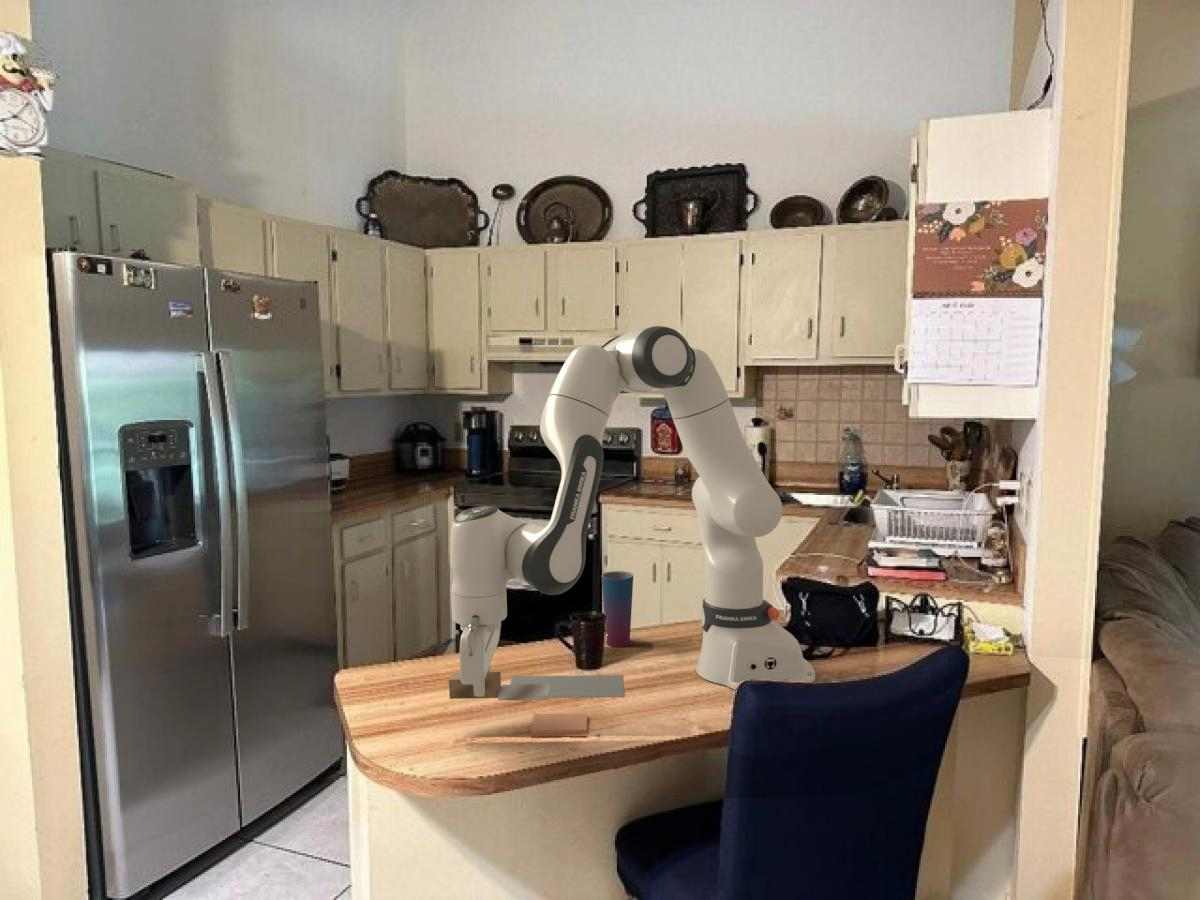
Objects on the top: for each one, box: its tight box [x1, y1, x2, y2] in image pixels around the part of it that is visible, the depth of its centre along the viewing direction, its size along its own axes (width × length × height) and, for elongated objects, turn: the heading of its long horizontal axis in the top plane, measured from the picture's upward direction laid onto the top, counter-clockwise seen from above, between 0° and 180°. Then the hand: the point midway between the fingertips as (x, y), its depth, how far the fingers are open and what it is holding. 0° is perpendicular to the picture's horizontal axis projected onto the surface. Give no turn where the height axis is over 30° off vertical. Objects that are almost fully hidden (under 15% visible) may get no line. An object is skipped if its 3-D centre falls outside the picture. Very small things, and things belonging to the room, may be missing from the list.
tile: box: [530, 712, 588, 739], centre depth 134 cm, size 2×6×9 cm
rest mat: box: [509, 674, 625, 699], centre depth 150 cm, size 21×10×1 cm, turn 90°
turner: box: [448, 671, 550, 702], centre depth 133 cm, size 16×5×3 cm, turn 90°
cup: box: [601, 570, 634, 648], centre depth 174 cm, size 7×7×15 cm
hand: (482, 689), depth 133 cm, fingers closed on turner, 3 cm apart
